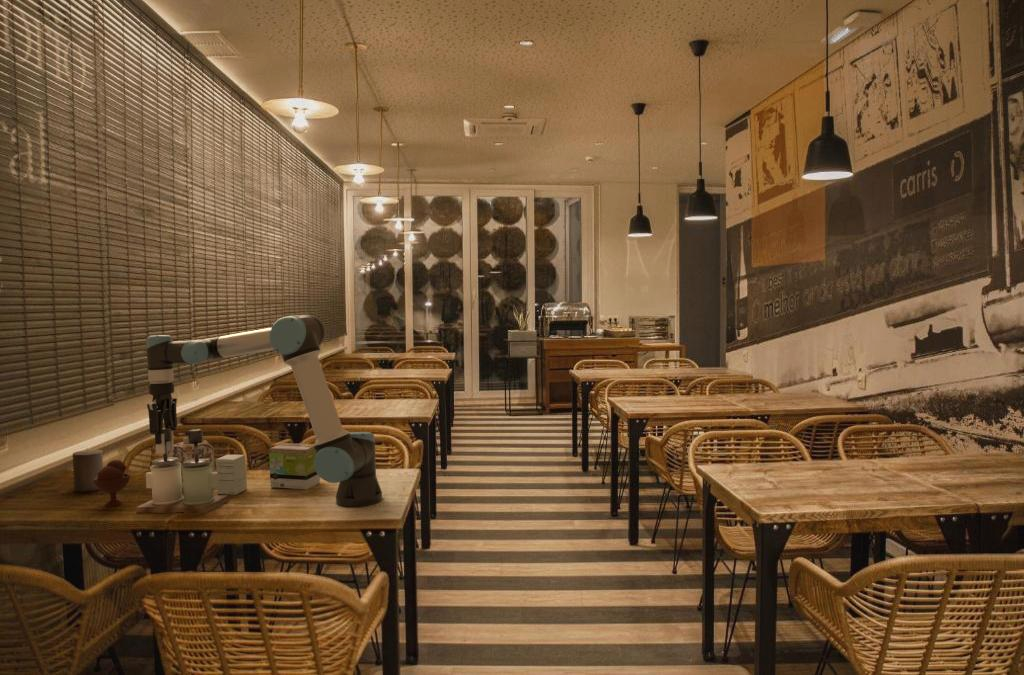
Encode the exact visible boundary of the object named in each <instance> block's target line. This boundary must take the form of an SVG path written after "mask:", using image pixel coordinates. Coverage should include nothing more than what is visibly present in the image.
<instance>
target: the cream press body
mask: <svg viewBox="0 0 1024 675" xmlns="http://www.w3.org/2000/svg"><path fill="white" fill-rule="evenodd" d="M149 470H150V471H148V472H146V473H145V485H146V489H151V490H152V491H151V492H152V495H151V496H152V499H151V500H152V504H154V505H168V504H174V503H178V502H180V501H182V500H183V499H184V497H183V496H182V495H183V489H182V478H181V463H179V462H177V463H173V464H168V465H153V464H152V465H150V467H149Z"/></svg>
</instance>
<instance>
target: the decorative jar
mask: <svg viewBox="0 0 1024 675" xmlns="http://www.w3.org/2000/svg"><path fill="white" fill-rule="evenodd" d="M182 440H183V441H179V442H176V443H174V450H168V451H167V458H168V457H176V458H179V463H181V467H182V466H184V462H185V461H189V460H194V459H195V455H194V444H189V443H188V436H184V437H183V438H182ZM214 451H215V450H214V447H213V445H212V444H210V442H208V441H207V440H206V439H205V440H204V439H203V442H202V443H198V456H199V459H209V460H210V463H212V472H216V466H215V465H216V462H215V452H214ZM181 478H182V490H183V474H182V468H181Z"/></svg>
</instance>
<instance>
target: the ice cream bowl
mask: <svg viewBox="0 0 1024 675" xmlns="http://www.w3.org/2000/svg"><path fill="white" fill-rule="evenodd" d="M126 470H127V466H126V464H125V463H124V461H122V460H119V459H114V460H111V461H109V462H107V463H106V466H103V469H102V470H101V471H100V472H99V473H98V477H96V478H95V479H93V481H94V484H95V486H96V487H97V488H98V489H99V490H100V491H102V492H104V493H107V494H109V497H110V500H108V501H106V502H105V503H104V507H107V508H111V507H118V506H121V505H124V503H123V501H122V500H120V499H118V498H117V493H118V492H121V491H122V490H124V488H125V487H126V486H127V485H128V484H129V481H130V479H131V473H127V472H126Z"/></svg>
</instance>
